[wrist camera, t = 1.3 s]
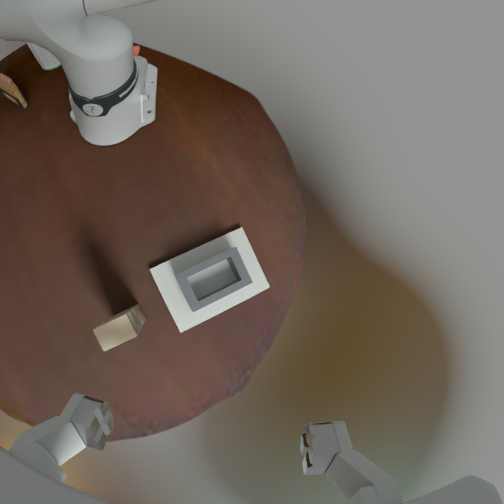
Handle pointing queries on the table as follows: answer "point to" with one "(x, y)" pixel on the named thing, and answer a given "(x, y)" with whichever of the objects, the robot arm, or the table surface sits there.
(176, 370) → the table surface
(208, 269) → the stand
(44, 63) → the cup
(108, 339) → the slat
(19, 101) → the ammunition clip
